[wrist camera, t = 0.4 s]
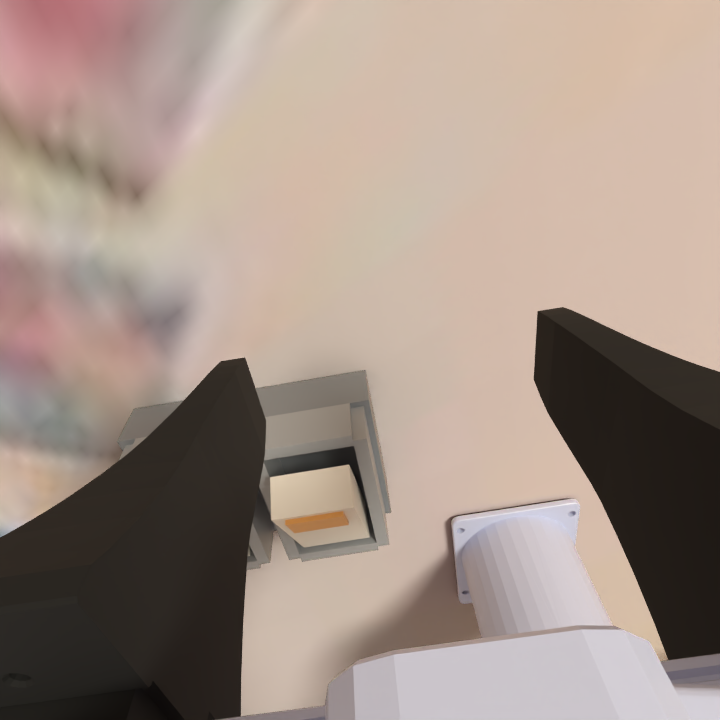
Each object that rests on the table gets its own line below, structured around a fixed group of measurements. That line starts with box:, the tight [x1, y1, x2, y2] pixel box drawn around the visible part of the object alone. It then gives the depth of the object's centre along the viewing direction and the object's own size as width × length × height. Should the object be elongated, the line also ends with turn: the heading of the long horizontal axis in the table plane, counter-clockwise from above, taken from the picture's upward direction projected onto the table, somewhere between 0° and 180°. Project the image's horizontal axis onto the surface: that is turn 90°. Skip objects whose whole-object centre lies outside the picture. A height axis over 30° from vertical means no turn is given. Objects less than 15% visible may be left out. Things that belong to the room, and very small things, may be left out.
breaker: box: [270, 465, 370, 547], centre depth 23 cm, size 6×3×2 cm, turn 9°
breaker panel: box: [117, 370, 391, 570], centre depth 25 cm, size 8×12×5 cm, turn 99°
